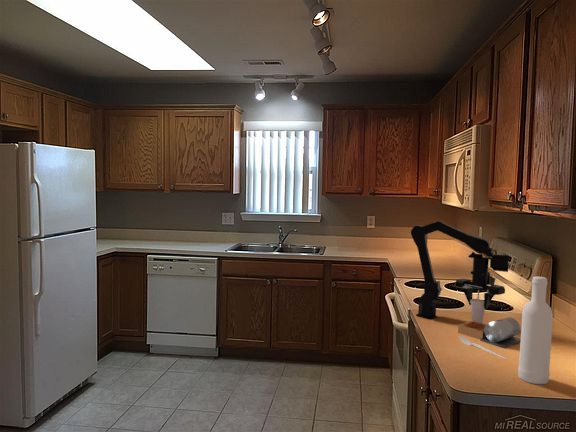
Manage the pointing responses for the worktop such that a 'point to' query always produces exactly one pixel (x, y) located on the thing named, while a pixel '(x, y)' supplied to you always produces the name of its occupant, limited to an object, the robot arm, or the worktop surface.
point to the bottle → (536, 336)
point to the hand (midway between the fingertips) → (478, 307)
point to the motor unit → (493, 331)
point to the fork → (478, 346)
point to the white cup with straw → (477, 309)
